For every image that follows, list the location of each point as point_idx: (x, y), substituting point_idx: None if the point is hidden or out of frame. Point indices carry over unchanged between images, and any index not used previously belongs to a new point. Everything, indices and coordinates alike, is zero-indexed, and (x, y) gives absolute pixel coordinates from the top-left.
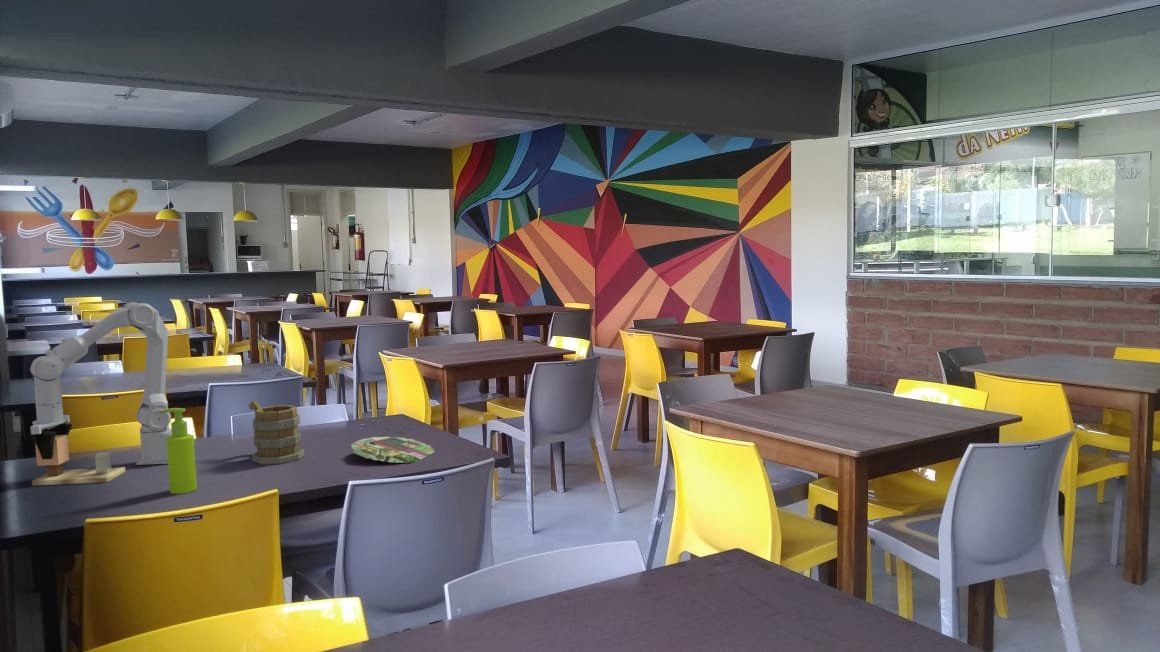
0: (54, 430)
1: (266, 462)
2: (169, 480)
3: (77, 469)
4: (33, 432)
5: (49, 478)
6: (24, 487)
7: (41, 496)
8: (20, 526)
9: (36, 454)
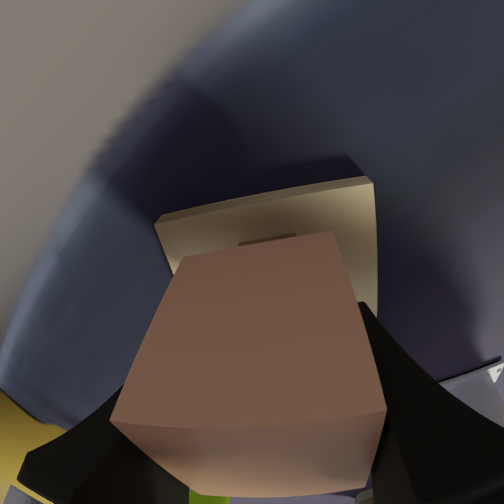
0: (390, 497)
1: (357, 496)
2: (193, 494)
3: (374, 297)
4: (19, 501)
5: None
6: (133, 199)
7: (84, 335)
8: (4, 376)
9: (157, 311)
